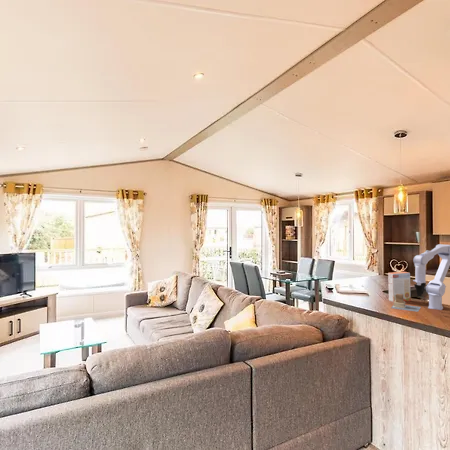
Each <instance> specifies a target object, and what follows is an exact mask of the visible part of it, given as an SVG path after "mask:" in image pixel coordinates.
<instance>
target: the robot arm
mask: <svg viewBox="0 0 450 450" xmlns="http://www.w3.org/2000/svg"><path fill="white" fill-rule="evenodd" d="M436 255H438V256H439V258H440V259H441V261H440V263H439V266H438V269H437V270H436V274H435V275H434V278H433V279H432V280H430V281H429V282H428V283H427V281H426V273H427V272H426V265H427V264H428V262H429V261H430V260H432V259H434V257H435V256H436ZM412 260H413V264H414V265H413V266H414V267H415V268H414V269H415V271H414V272H415V273H414V274H415V275H414V276H415V279H413V280H412V281H413V282H415V284H414V288H415V291H416V294H417V297H421V296H423V294H424V292H425V291H426V293H427V294H428V306H427V309H431V310H438V311H442V310H443V309H444V306H443V296H444V295H445V293H446V287H447V286H446V285H445V283H444V281H445V278H446V276H447V273H448V271H449V269H450V244H442V243H439V244H436V245H435V247H434V248H432V249H431V250H428V249H427V250H425V252H422V253H420V254H417V255H415V256H414V257H413V259H412Z"/></svg>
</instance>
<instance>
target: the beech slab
mask: <svg viewBox="0 0 450 450" xmlns="http://www.w3.org/2000/svg"><path fill="white" fill-rule="evenodd" d="M393 305H394V307H400V308H404V307H405V305H406V301H403V303H398V302H396V301H394V302H393Z"/></svg>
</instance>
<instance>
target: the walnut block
mask: <svg viewBox="0 0 450 450" xmlns="http://www.w3.org/2000/svg"><path fill="white" fill-rule="evenodd" d="M396 302H398V303H403V294H396Z"/></svg>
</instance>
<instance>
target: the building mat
mask: <svg viewBox="0 0 450 450" xmlns="http://www.w3.org/2000/svg"><path fill="white" fill-rule="evenodd" d="M421 308H422V307H421V306H416V305H415V306H414V305H408V304H405V307H404V308H400V307H394V304H393V305H392V306H391V307H390V309H394V310H400V311H401V310H402V311H409V312H416V313H417V312H419V311H420V309H421Z"/></svg>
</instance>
